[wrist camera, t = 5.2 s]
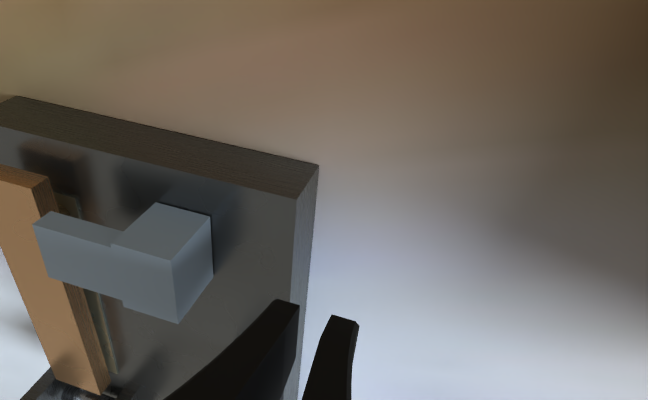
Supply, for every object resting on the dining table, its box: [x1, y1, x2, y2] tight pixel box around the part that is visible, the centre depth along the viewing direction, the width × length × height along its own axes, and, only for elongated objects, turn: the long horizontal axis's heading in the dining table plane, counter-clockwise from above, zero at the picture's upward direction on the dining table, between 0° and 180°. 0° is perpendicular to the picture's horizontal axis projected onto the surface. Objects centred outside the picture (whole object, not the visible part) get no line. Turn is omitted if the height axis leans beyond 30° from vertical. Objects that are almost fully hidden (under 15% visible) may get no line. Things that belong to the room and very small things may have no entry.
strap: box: [0, 164, 116, 400], centre depth 18 cm, size 12×2×1 cm, turn 175°
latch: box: [32, 202, 213, 324], centre depth 14 cm, size 2×4×2 cm, turn 85°
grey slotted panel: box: [0, 96, 319, 400], centre depth 18 cm, size 14×11×4 cm
